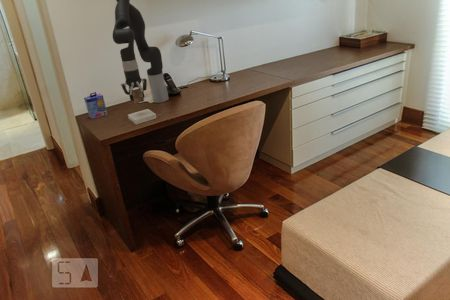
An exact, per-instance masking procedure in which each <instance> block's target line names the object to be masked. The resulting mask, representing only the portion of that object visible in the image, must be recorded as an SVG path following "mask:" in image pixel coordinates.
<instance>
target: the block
mask: <svg viewBox="0 0 450 300" xmlns="http://www.w3.org/2000/svg"><path fill="white" fill-rule="evenodd" d="M132 95H133V99H134V101H131V102H132V103H133V104H138V103H144V101H145V97H144V98H143V94H142V90H140V89H139V88H137V89H136V88H134V89H133V91H132Z"/></svg>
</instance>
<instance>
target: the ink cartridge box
mask: <svg viewBox="0 0 450 300" xmlns="http://www.w3.org/2000/svg"><path fill="white" fill-rule="evenodd" d="M83 100H84V102H85V106H86V109H87V112H88V113H87V114H88V115H89V118H90V119H92V120H93V119H97V118H101V117H104V116H107V115H108V110H107V107H106V103H105V99H104V95H103V94H101V93H97V92H96V91H95V92H92V93H89V95H88V96H86V97H83Z"/></svg>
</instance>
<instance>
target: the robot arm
mask: <svg viewBox="0 0 450 300" xmlns="http://www.w3.org/2000/svg"><path fill="white" fill-rule="evenodd" d="M115 1H116V6H115V9H114V27H113V31H112V40H113V42H114V43H115V44H117V45H123V44H128V45H127V46H126V47H124V48H121V49H120V50H119V53H120V54H119V55H120V58H121V63H122V68H123V73H124V78H125V82H124V83H120V86H121V88H122V90H123V92H124V94H126V95H127V96H129V100H130V101H131V102H132V101H134V99H133V95H132V91H133V90H134V89H136V88H137V89H140V90H142V94H143V98H144V99H145V91H147V86H148V84H149V89H150V94H151V97H152V102H153V103H155V104H156V103H157V104H159V103H164V102H166V101H169V100H170V98H169V93H168V88H167V84H166V83H165V77H164V73H163V68H164V67H163V58H162V52H161V50H160V49H159V47H157V46H149V44H148V43H147V40H146V37H145V34H146V33H145V32H146V24H145V20H144V18H143V15H142V14H141V11H139V9H138V8H136V7H135V6H134V5H133V4H131V3H130V1H131V0H115ZM135 44H136V47H137V50H138V54H139V56H140V58H141V60H142V61H143V62H144V63H150V68H148V69H146V75H147V79H148V81H147V79H146V78H142V77H141V75H140V70H139V65H138V62H137V59H136V54H135V46H134V45H135ZM147 83H148V84H147ZM141 84H142V86H141ZM127 86H128V90H127Z"/></svg>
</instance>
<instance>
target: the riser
mask: <svg viewBox="0 0 450 300" xmlns="http://www.w3.org/2000/svg"><path fill="white" fill-rule="evenodd" d="M127 117H128V120H129V121H131V122H132V123H133V124H134V125H139V124H141V123H145V122H149V121H152V120H155V119H157V114H156V113H155V112H154V111H152V110H150V109H149V108H147V109H143V110H139V111H136V112H132V113H129V114H127Z"/></svg>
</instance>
